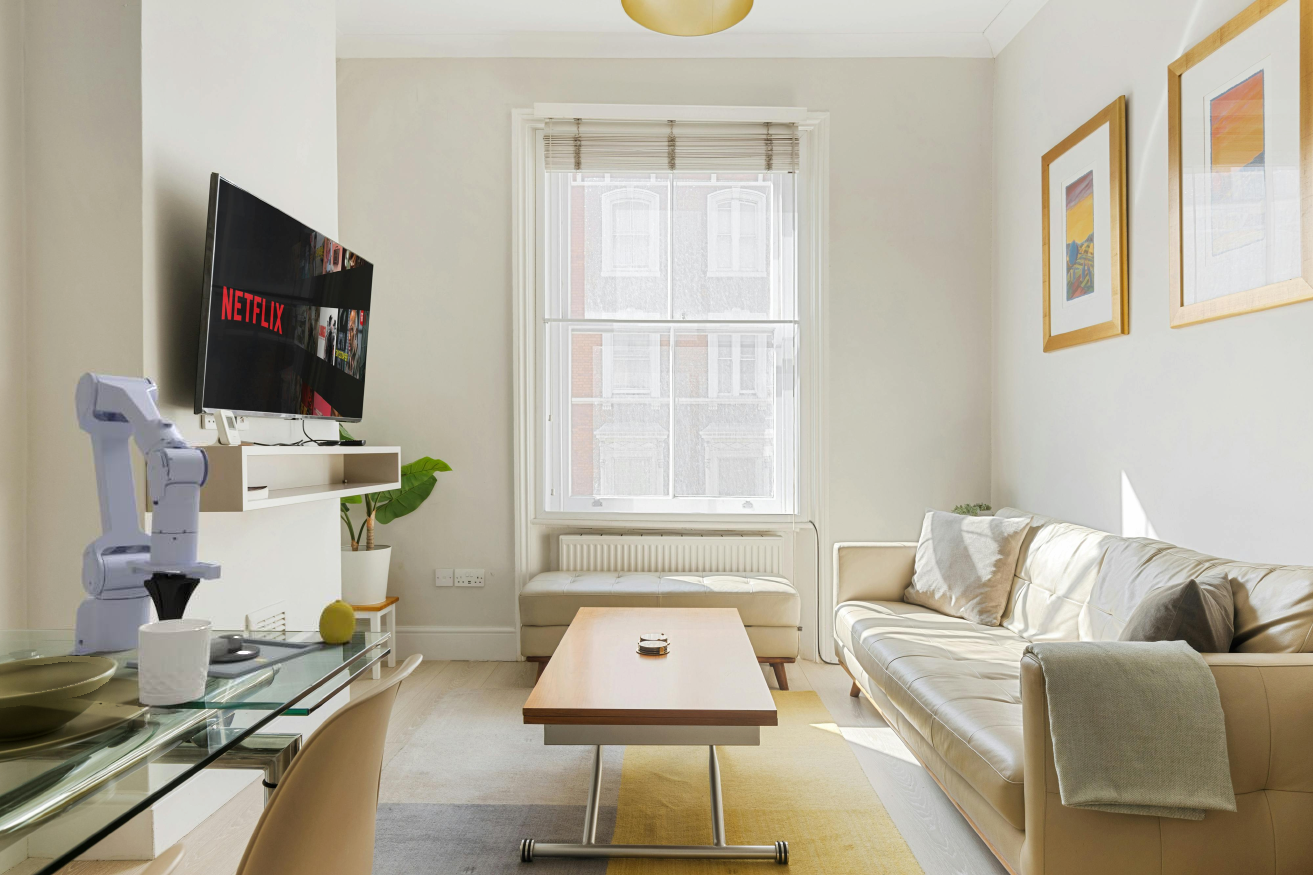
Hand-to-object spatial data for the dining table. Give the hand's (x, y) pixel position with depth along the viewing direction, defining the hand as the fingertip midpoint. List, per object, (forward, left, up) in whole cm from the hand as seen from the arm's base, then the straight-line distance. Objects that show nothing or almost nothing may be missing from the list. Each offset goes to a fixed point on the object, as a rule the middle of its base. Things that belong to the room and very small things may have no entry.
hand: (170, 627), depth 111 cm
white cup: (+13, -12, -7) cm, 19 cm away
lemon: (+13, +20, -7) cm, 25 cm away
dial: (+5, +5, -5) cm, 8 cm away
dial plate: (+5, +6, -6) cm, 10 cm away
